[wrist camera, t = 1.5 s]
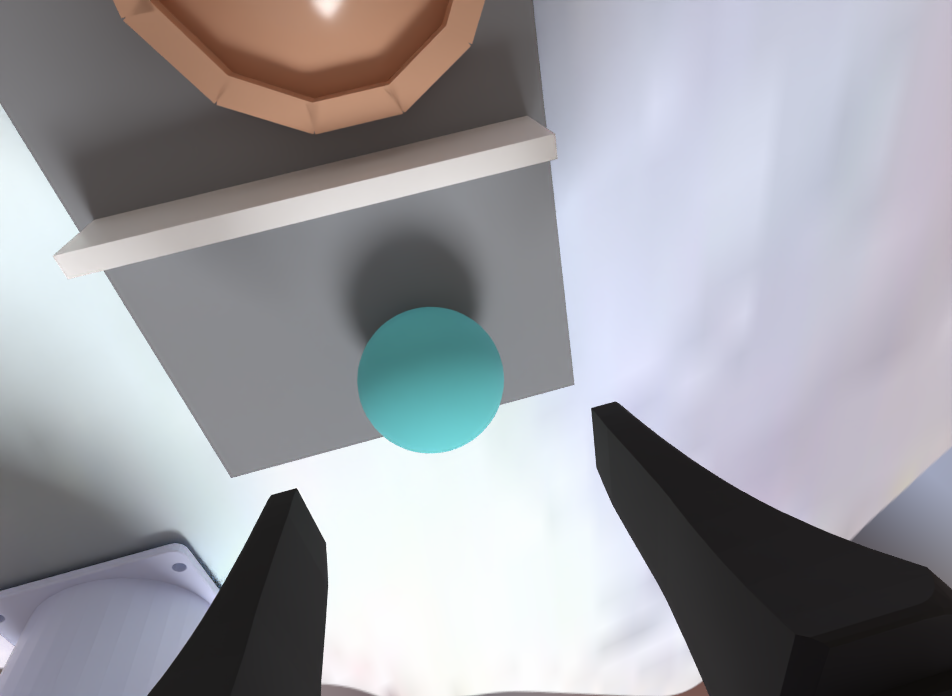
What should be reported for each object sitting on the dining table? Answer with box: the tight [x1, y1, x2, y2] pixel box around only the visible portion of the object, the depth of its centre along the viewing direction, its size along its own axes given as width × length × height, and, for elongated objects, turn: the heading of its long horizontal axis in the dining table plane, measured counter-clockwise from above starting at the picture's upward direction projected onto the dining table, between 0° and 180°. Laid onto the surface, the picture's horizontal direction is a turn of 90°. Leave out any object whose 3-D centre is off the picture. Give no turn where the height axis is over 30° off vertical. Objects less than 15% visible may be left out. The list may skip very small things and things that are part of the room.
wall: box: [53, 116, 557, 279], centre depth 14 cm, size 1×12×2 cm, turn 100°
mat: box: [0, 0, 574, 478], centre depth 16 cm, size 19×13×1 cm
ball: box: [357, 307, 504, 453], centre depth 17 cm, size 4×4×4 cm
